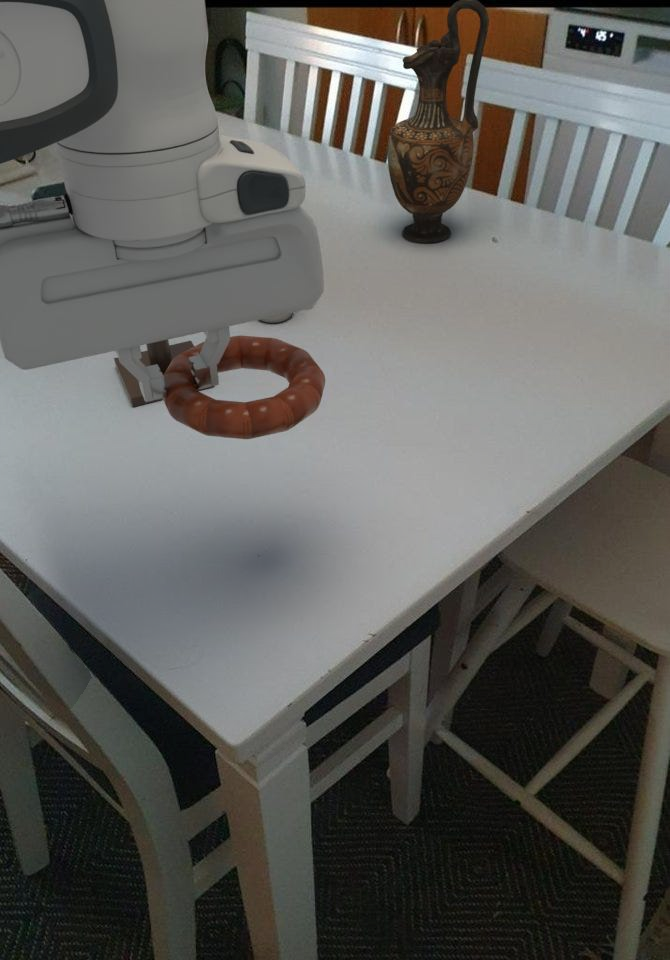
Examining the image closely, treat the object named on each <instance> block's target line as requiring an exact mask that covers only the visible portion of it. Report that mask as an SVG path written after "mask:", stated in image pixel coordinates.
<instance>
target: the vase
mask: <svg viewBox="0 0 670 960" xmlns="http://www.w3.org/2000/svg"><path fill="white" fill-rule="evenodd" d="M463 9H466V10H471V11H473V12H475V13H476V14H477V16H478V18H479V30H478V33H477V38H476V43H475V46H474V50H473V56H472V59H471V63H470V69H469V74H468V80H467V85H466V90H465V91H466V92H465V99H464V109H463V116H462V120H461V119H459V118H456V117H453V116H452V115H451V114H450V113H449V110H448V103H447V86H448V80H449V77H450V75H451V72H452V70H453V68H454V66H455V65H457V64H458V63H459V61H460V55H461V42H460V37H459V23H458V17H457V15H458V13H459V12H460V10H463ZM446 23H447V24H446V25H447V32H446V33H445V34H444V35H442V36H441V38H440V40H439V39H432V40H430V41H429V42H428V43H425V44H422V45H421V46H419V47H417V48H416V51H415V52H414V53H413V54H412V55H407V56H404V57H403V58H402V63H403V64H402V67H403V69H404V70H410V69H411V70H412V71H413V72H414V74H415V76H416V78H417V80H418V84H419V85H418V87H419V92H418V102H417V107H416V110H415V113H414V115H413V116H412V117H410V118H409V117H408V118H405V119H403V120H401V121H399V122H397V123H395V124H394V125H393V126H392V127H391V128H390V130H389V131H388V135H387V143H386V144H387V146H386V147H387V148H386V151H387V152H386V154H387V155H386V157H387V166H388V175H389V179H390V182H391V183H390V184H391V187H392V190H393V193H394V196H395V198H396V200H397V202H398V204H399V205H400V206H401V208H402V209H404V210H405V211H407V213H409V214H411V215H412V220H413V222H412V223H410V224H407V225H406V226H404V227H403V228H402V232H401V236H402V238H404V239H405V240H406V241H408V242H411V243H417V244H433V243H440V242H443V241H445V240H447V239H449V238H450V237H451V236H452V230H451V229H450V227H449V226H447V225H446V224H444V223H442V221H443V215H444V213H446V212H447V211H449V210H450V209H452V208H453V207H454V206H455V205H456V204H457V203H458V202H459V200H460V198H461V196H462V194H463V193H464V191H465V188H466V186H467V183H468V180H469V176H470V173H471V168H472V165H473V164H472V163H473V157H474V144H475V143H474V132H475V131H476V130H477V129H479V121H478V117H477V115H476V113H475V97H476V91H477V83H478V78H479V73H480V68H481V63H482V59H483V53H484V49H485V44H486V40H487V37H488V31H489V29H488V28H489V25H490V19H489V14H488V10H487V8H486V7H485V5H483V4H482V3H481V1H479V0H458V1H455V2H454V3H453V4H452V6H450V8H449V10H448V13H447V17H446Z"/></svg>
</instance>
